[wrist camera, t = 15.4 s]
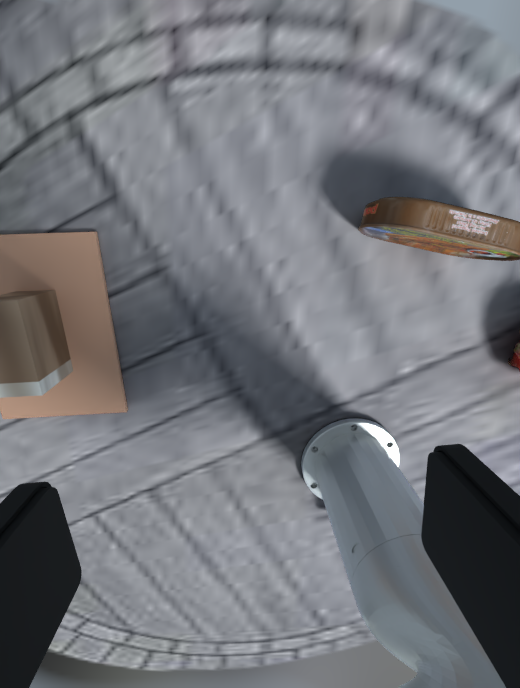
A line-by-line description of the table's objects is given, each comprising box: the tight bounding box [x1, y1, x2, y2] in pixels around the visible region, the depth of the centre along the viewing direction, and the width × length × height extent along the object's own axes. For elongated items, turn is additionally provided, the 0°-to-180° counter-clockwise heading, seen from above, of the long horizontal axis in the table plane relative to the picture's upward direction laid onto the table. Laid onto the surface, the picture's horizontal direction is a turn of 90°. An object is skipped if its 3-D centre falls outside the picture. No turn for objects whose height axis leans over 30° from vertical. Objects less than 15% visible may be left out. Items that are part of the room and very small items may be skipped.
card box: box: [0, 290, 73, 398], centre depth 32 cm, size 4×9×6 cm, turn 2°
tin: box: [358, 197, 520, 261], centre depth 31 cm, size 15×3×8 cm, turn 78°
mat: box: [0, 232, 128, 419], centre depth 35 cm, size 20×14×1 cm
